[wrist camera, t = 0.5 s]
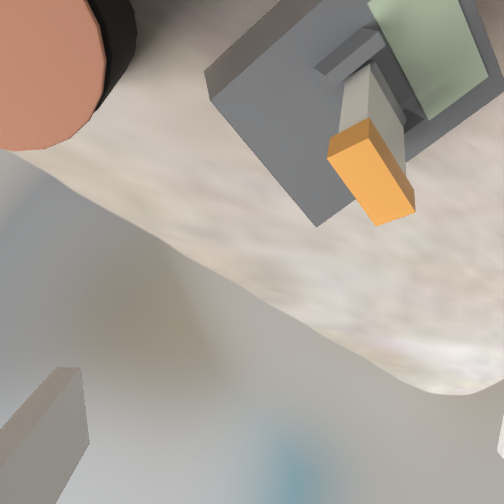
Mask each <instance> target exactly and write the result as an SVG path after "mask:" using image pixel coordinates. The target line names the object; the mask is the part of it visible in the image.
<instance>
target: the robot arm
mask: <svg viewBox="0 0 504 504" xmlns="http://www.w3.org/2000/svg"><path fill="white" fill-rule="evenodd" d="M88 445H89V435H88V426H87V417H86V409H85V400H84V391H83V382H82V373H81V368H68V367H67V368H66V367H65V368H63V367H62V368H61V367H56V368H55V369H54V370H53V371H52V373H51V374H50V375H49V376H48V377H47V378H46V379H45V380H44V381H43V382H42V384H41V385H40V386H39V387H38V388H37V389H36V390H35V391H34V393H33V394H32V395H31V396H30V397H29V398H28V399H27V400H26V401H25V403H24V404H23V405H22V406H21V407H20V408H19V409H18V410H17V411H16V412H15V414H14V415H13V416H12V417H11V418H10V419H9V420H8V421H7V422H6V424H5V425H4V426H3V427H2V428H1V429H0V504H55V503H56V502H57V500H58V498H59V497H60V495H61V493H62V491H63V489H64V488H65V486H66V484H67V482H68V481H69V479H70V477H71V475H72V474H73V472H74V470H75V468H76V466H77V465H78V463H79V461H80V459H81V458H82V456H83V454H84V452H85V451H86V449H87V447H88ZM497 451H498V452H499V454H500V455H501V456H502V458H503V459H504V416H503V422H502V427H501V432H500V438H499V443H498V448H497Z"/></svg>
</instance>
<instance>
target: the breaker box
mask: <svg viewBox="0 0 504 504" xmlns="http://www.w3.org/2000/svg"><path fill="white" fill-rule="evenodd" d="M367 60H375V62H376V64H377V66H378V68H379V69H380V71H381V73H382V75H383V77H384V78H385V80H386V82H387V84H388V86H389V87H390V89H391V91H392V93H393V95H394V96H395V98H396V100H397V102H398V104H399V105H400V107H401V109H402V111H403V113H404V114H405V116H406V118H407V121H406V123H405V125H404V126H403V128H404V146H405V163H406V162H407V161H409V160H410V159H412V158H413V157H414V156H416V155H417V154H418V153H420V152H421V151H423V150H424V149H425V148H427V147H428V146H429V145H431V144H432V143H434V142H435V141H436V140H438V139H439V138H440V137H442V136H443V135H445V134H446V133H447V132H449V131H450V130H452V129H453V128H454V127H456V126H457V125H458V124H460V123H461V122H463V121H464V120H465V119H467V118H468V117H469V116H471V115H472V114H474V113H475V112H476V111H478V110H479V109H480V108H482V107H483V106H485V105H486V104H487V103H489V102H490V101H491V100H493V99H494V98H496V97H497V96H498V95H500V94H501V93H502V92H504V78H503V75H502V73H501V70H500V67H499V65H498V62H497V59H496V57H495V54H494V52H493V49H492V46H491V44H490V41H489V38H488V36H487V33H486V31H485V28H484V25H483V23H482V20H481V17H480V15H479V12H478V10H477V7H476V4H475V2H474V0H281V1H280V2H279V3H278V4H277V5H276V6H275V7H274V8H273V9H271V10H270V11H269V12H268V13H267V14H266V15H265V16H264V17H263V18H262V19H261V20H259V21H258V22H257V23H256V24H255V25H254V26H253V27H252V28H251V29H250V30H249V31H248V32H246V33H245V34H244V35H243V36H242V37H241V38H240V39H239V40H238V41H237V42H236V43H234V44H233V45H232V46H231V47H230V48H229V49H228V50H227V51H226V52H225V53H224V54H222V55H221V56H220V57H219V58H218V59H217V60H216V61H215V62H214V63H213V64H212V65H211V66H209V67H208V68H207V69H206V70H205V71H204V73H205V78H206V83H207V88H208V93H209V98H210V101H211V102H212V103H213V105H214V106H215V107H216V108H217V109H218V111H219V112H220V113H221V114H222V115H223V117H224V118H225V119H226V120H227V121H228V123H229V124H230V125H231V126H232V127H233V129H234V130H235V131H236V132H237V133H238V135H239V136H240V137H241V138H242V139H243V141H244V142H245V143H246V144H247V145H248V147H249V148H250V149H251V150H252V151H253V152H254V154H255V155H256V156H257V157H258V158H259V160H260V161H261V162H262V163H263V164H264V166H265V167H266V168H267V169H268V170H269V172H270V173H271V174H272V175H273V176H274V178H275V179H276V180H277V181H278V182H279V184H280V185H281V186H282V187H283V188H284V190H285V191H286V192H287V193H288V194H289V195H290V197H291V198H292V199H293V200H294V201H295V203H296V204H297V205H298V206H299V207H300V209H301V210H302V211H303V212H304V213H305V215H306V216H307V217H308V218H309V219H310V221H311V222H312V223H313V224H314V225H315V227H316V228H317V227H318V226H319V225H321V224H322V223H323V222H325V221H326V220H328V219H329V218H330V217H332V216H333V215H334V214H336V213H337V212H339V211H340V210H341V209H343V208H344V207H345V206H347V205H348V204H350V203H351V202H352V201H354V200H355V199H356V198H355V197H354V195H353V194H352V193H351V191H350V190H349V189H348V187H347V186H346V184H345V183H344V182H343V180H342V179H341V178H340V176H339V175H338V173H337V172H336V171H335V169H334V168H333V166H332V165H331V164H330V162H329V161H328V160H327V154H328V147H329V141H330V138H331V137H332V136H334V135H336V134H338V131H339V124H340V116H341V109H342V101H343V94H344V85H343V83H342V82H343V80H344V79H345V78H347V77H348V76H349V75H350V74H351V73H353V72H354V71H355V70H356V69H358V68H359V67H360V66H361V65H362V64H364V63H365V62H366V61H367Z"/></svg>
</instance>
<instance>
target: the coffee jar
mask: <svg viewBox="0 0 504 504" xmlns="http://www.w3.org/2000/svg"><path fill="white" fill-rule="evenodd" d="M136 37H137V30H136V23H135V17H134V11H133V8H132V6H131V4H130V2H129V0H0V148H1V149H5V150H10V151H24V150H39V149H46V148H48V147H51V146H53V145H55V144H58V143H60V142H63V141H65V140H68V139H70V138H71V137H72V136H73V135H74V134H75V133H76V132H78V131H79V130H80V129H81V128H82V127H83V126H84V125H85V124H86V123H87V122H88V121H89V120H90V119H91V117H92V114H93V113H94V112H95V111H96V110H97V109H98V108H99V107H100V106H101V104H102V103H103V102H104V100H105V99H106V97H107V96H108V95H109V93H110V92H111V90H112V89H113V88H114V86H115V85H116V83H117V82H118V81H119V79H120V78H121V76H122V75H123V74H124V72H125V71H126V69H127V67H128V65H129V63H130V61H131V59H132V57H133V55H134V52H135V44H136Z"/></svg>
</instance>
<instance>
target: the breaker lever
mask: <svg viewBox="0 0 504 504" xmlns="http://www.w3.org/2000/svg"><path fill="white" fill-rule="evenodd" d="M342 83H343V85H344V94H343V101H342V109H341V116H340V124H339V131H338V134H336V135H334V136H332V137H331V138H330V141H329V147H328V154H327V160H328V161H329V162H330V164H331V165H332V166H333V168H334V169H335V171H336V172H337V173H338V175H339V176H340V178H341V179H342V180H343V182H344V183H345V184H346V186H347V187H348V189H349V190H350V191H351V193H352V194H353V195H354V197H355V198H356V200H357V201H358V202H359V204H360V205H361V206H362V208H363V209H364V211H365V212H366V213H367V215H368V216H369V218H370V219H371V220H372V222H373V223H374V224H375V226H378V225H381V224H384V223H387V222H390V221H392V220H395V219H398V218H401V217H404V216H407V215H409V214H412V213H415V212H416V211H415V198H414V189H413V188H412V186H411V184H410V183H409V181H408V179H407V178H406V164H405V146H404V128H403V126H404V125H405V123H406V121H407V118H406V116H405V114H404V113H403V111H402V109H401V107H400V105H399V104H398V102H397V100H396V98H395V96H394V95H393V93H392V91H391V89H390V87H389V86H388V84H387V82H386V80H385V78H384V77H383V75H382V73H381V71H380V69H379V68H378V66H377V64H376V62H375V60H367V61H366V62H365V63H364V64H362V65H361V66H360V67H359V68H358V69H356V70H355V71H354V72H353V73H351V74H350V75H349V76H348V77H347V78H345V79H344V80H343V82H342Z"/></svg>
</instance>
